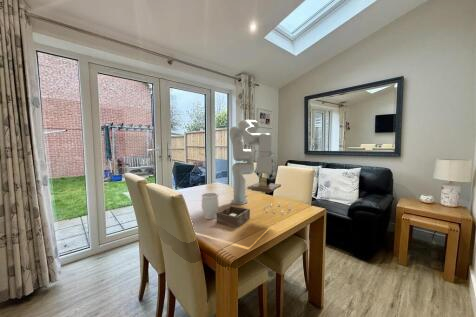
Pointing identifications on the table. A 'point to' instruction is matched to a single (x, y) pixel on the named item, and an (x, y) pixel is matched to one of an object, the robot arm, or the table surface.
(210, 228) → the table surface
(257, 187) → the lid
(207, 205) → the jar
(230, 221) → the box
